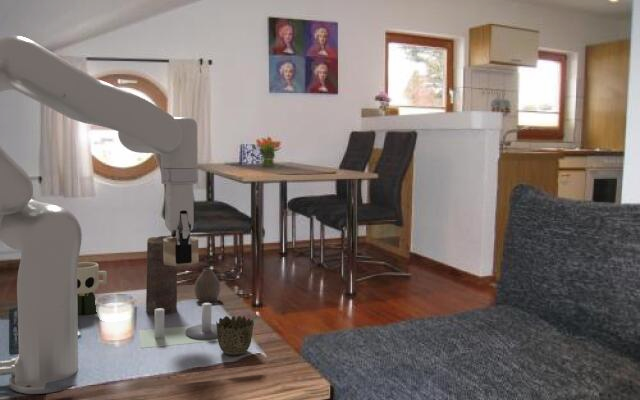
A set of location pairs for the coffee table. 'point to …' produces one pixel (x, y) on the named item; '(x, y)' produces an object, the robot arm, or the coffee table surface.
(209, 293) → the vase
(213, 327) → the hub board
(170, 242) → the collar
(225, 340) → the fiber plant pot
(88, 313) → the character mug
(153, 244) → the brown log
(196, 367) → the coffee table surface
